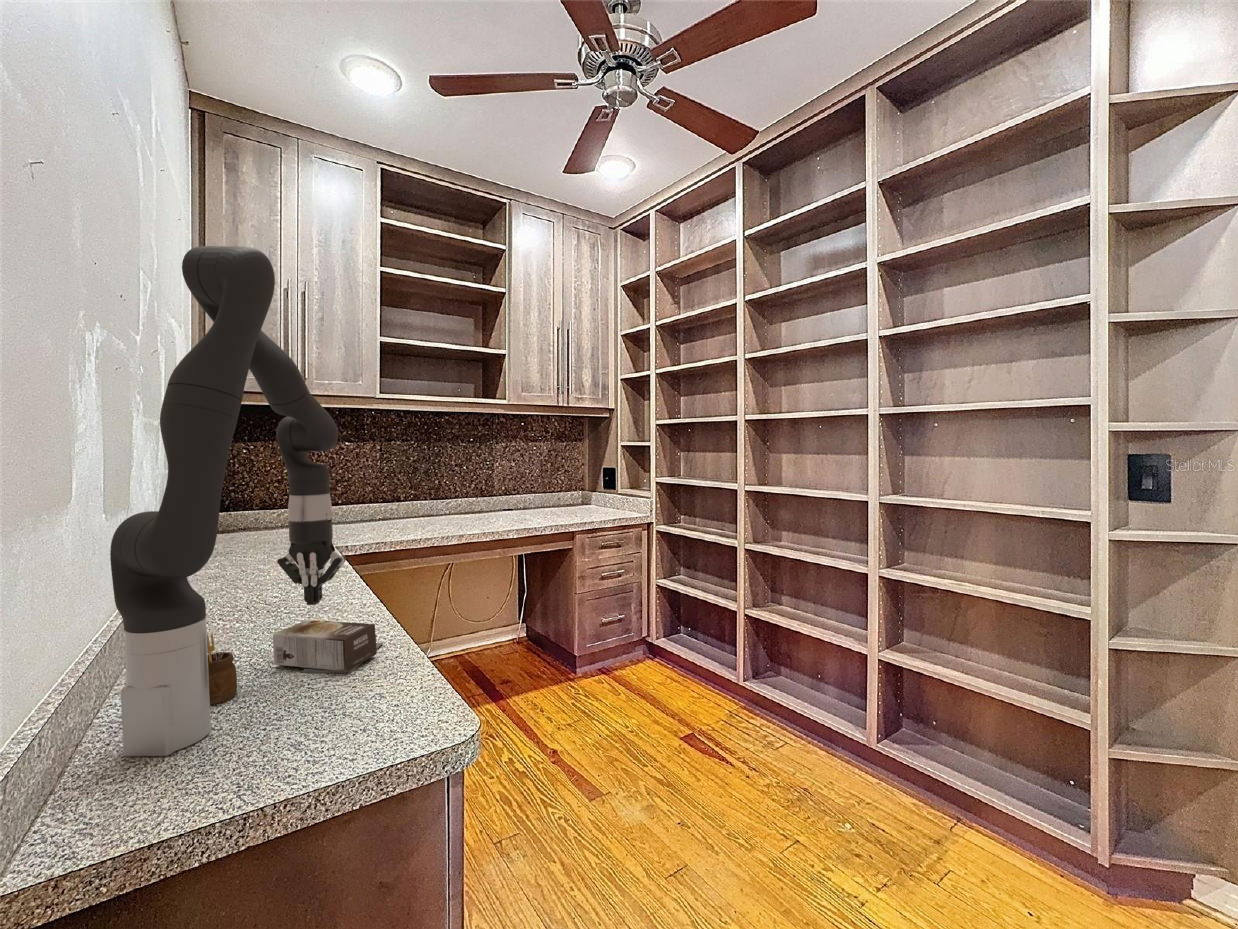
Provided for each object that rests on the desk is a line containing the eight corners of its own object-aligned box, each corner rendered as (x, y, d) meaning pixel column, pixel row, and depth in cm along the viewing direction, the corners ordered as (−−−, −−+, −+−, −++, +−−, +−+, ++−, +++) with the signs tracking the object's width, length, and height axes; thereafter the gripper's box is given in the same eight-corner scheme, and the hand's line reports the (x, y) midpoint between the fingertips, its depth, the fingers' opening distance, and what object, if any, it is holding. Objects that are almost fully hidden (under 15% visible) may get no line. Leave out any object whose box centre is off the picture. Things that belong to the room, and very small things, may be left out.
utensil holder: (241, 687, 98) (238, 620, 98) (231, 703, 92) (228, 632, 92) (201, 693, 96) (198, 625, 96) (188, 710, 90) (184, 637, 90)
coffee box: (307, 618, 115) (376, 622, 112) (309, 648, 115) (378, 654, 112) (271, 633, 106) (345, 639, 103) (272, 666, 106) (346, 673, 103)
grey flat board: (351, 672, 104) (350, 670, 104) (302, 673, 104) (302, 670, 104) (382, 645, 118) (382, 642, 118) (340, 645, 118) (340, 643, 118)
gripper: (264, 520, 106) (268, 610, 107) (334, 519, 106) (337, 609, 107) (288, 514, 114) (291, 599, 115) (353, 514, 114) (355, 598, 115)
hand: (313, 603), depth 111 cm, fingers closed
